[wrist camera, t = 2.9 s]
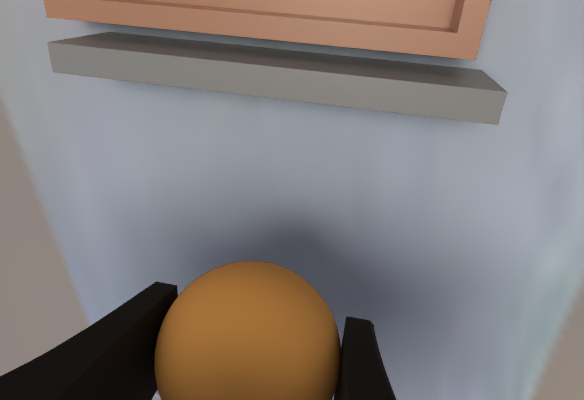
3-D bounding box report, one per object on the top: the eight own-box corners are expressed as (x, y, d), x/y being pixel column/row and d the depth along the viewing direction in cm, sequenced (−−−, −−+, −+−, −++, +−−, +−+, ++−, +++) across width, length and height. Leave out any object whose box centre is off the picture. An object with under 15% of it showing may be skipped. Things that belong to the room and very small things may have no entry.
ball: (300, 374, 14) (268, 530, 10) (176, 307, 14) (91, 439, 10) (378, 281, 12) (377, 430, 8) (233, 200, 12) (155, 311, 8)
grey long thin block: (474, 96, 13) (497, 124, 11) (111, 56, 15) (53, 72, 12) (481, 70, 13) (507, 91, 10) (108, 31, 14) (47, 42, 12)
